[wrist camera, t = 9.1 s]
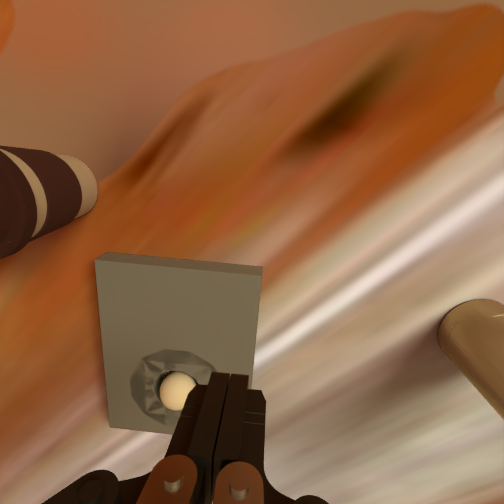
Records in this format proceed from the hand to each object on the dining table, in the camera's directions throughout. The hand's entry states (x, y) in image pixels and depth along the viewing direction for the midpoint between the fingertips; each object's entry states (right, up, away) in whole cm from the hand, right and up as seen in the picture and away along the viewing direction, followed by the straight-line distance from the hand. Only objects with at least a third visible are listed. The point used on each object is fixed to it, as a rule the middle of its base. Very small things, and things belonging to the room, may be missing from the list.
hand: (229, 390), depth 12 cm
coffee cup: (-21, +14, +25) cm, 35 cm away
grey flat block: (-9, -8, +30) cm, 33 cm away
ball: (-9, -14, +30) cm, 34 cm away
